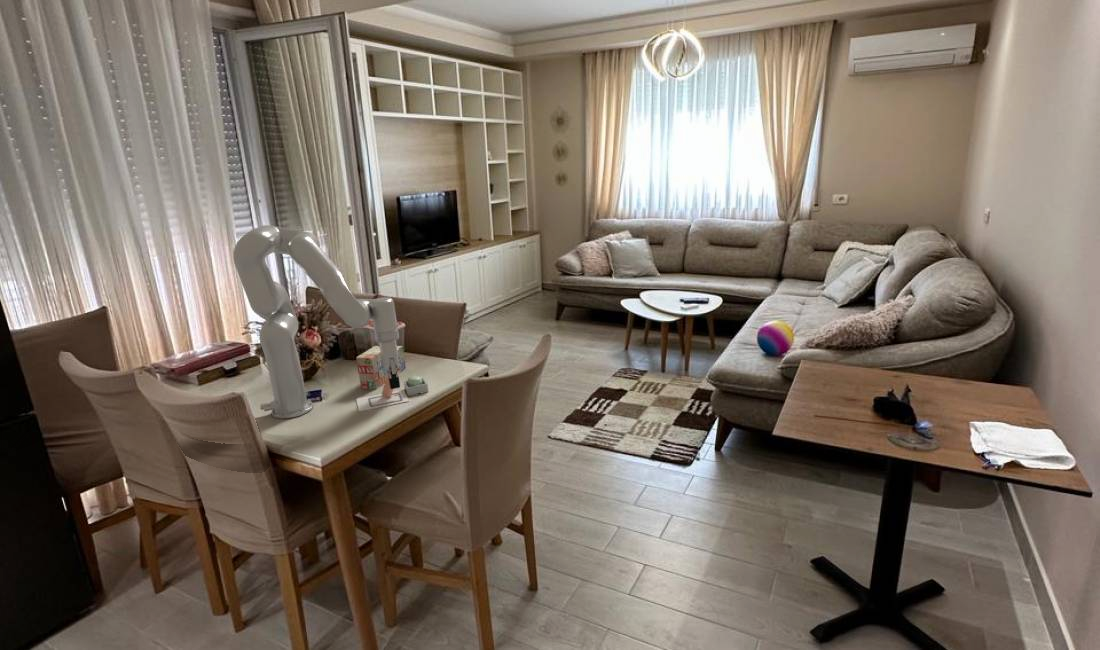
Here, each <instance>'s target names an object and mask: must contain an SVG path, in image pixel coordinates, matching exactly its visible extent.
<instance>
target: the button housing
mask: <svg viewBox="0 0 1100 650" xmlns="http://www.w3.org/2000/svg"><path fill="white" fill-rule="evenodd" d="M422 382H423V384H422V385H417V386H412V387H409V384H408V379H407V380H404V381H403V385H404V391H405V394H406V396H407V397H411V396H415V395H414V394H416V395H419V394H418V393H421V394H423V393H422V392H426V393H428V392H429V386H428V382H427V381H426V379H425V377H422ZM427 391H428V392H427ZM410 395H411V396H410Z"/></svg>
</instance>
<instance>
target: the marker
mask: <svg viewBox="0 0 1100 650" xmlns="http://www.w3.org/2000/svg"><path fill="white" fill-rule="evenodd" d="M390 369H391V367H390ZM400 369H401V364H399V368H398V369H397V372H398V375H399V371H400ZM390 372H392V371H390ZM389 378H390V377H389V373H388V376H387V379H386V382H385V384H384V385H383V388H382V391H381V394H382V396H384V397H391V395H392V392H394V389H391V388H390V383H389Z"/></svg>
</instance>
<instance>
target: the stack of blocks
mask: <svg viewBox="0 0 1100 650" xmlns="http://www.w3.org/2000/svg"><path fill="white" fill-rule="evenodd" d="M397 352H398V360H399V364H401V369H400V371H399V373H401V372H402V371H404V370H405V369H406V360H405V354H404V348H403V346H402V345H397ZM356 363H357V372H358V376H359V383H360V389H361V390H362V389H363V390H375V391H376V390H378V389H379V388H380V387H382V386H384V385H385V382H386V379H387V376H388V375H387V374H388V371H385V370H384V369H383V366H382V361H381V353H380V346H379V345H374V346H372V347H371V348H369V349H367V350H366V351H364V352H363V353H361V354H360V355H358V356H356Z"/></svg>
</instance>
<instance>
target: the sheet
mask: <svg viewBox="0 0 1100 650" xmlns="http://www.w3.org/2000/svg"><path fill="white" fill-rule="evenodd" d="M355 400H356V405H357V409H358V412H365V411H369V410H375V409H380V408H384V407H390V406H394V404H395V405H400V404H404V402H405V403H408V402H409V398H408V395H407V393H406V391H405V389H400V390H393V392H392V395H391V397H384V396H382V393H379V394H374V395H369V396H364V397H359V398H356V399H355ZM399 403H400V404H399ZM409 403H410V402H409Z"/></svg>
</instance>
